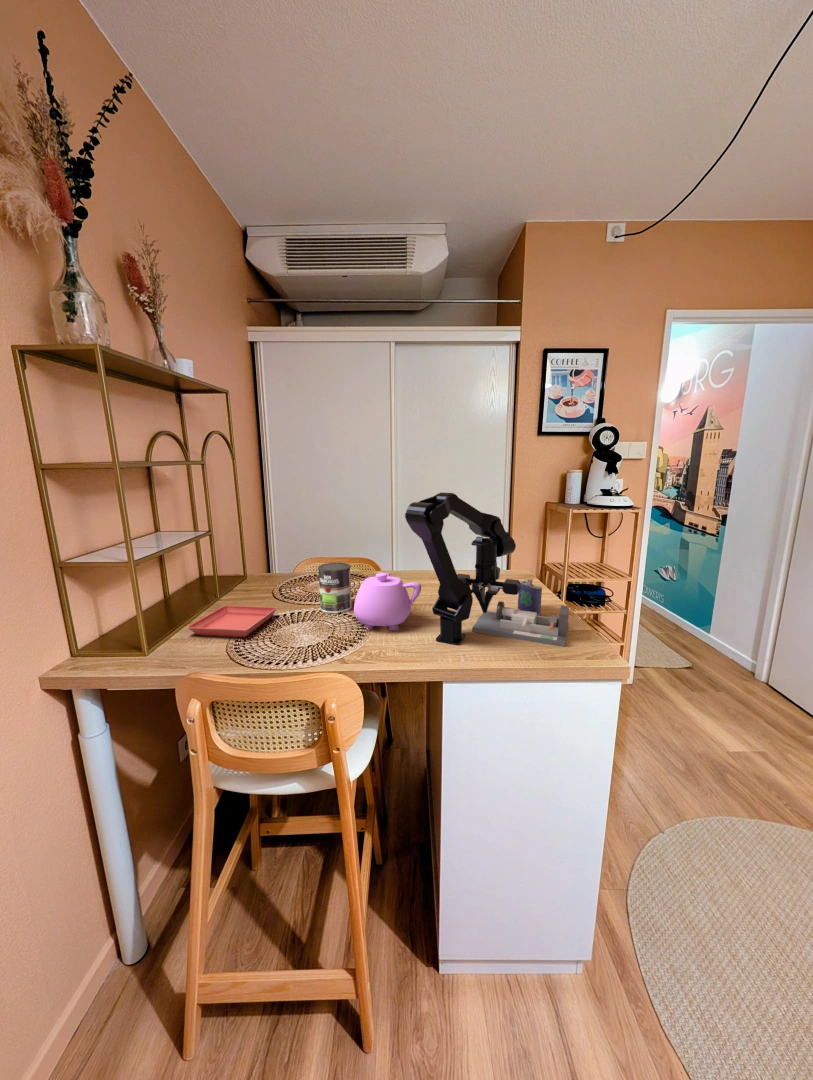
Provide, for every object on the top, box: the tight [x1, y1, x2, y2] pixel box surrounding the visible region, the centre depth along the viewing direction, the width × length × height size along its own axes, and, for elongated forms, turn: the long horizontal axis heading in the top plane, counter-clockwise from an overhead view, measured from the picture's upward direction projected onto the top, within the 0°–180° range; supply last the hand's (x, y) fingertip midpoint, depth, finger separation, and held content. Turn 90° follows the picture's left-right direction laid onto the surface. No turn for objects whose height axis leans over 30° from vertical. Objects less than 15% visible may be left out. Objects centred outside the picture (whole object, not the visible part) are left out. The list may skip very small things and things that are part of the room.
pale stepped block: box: [495, 600, 537, 626], centre depth 111 cm, size 10×9×6 cm
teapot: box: [353, 572, 422, 631], centre depth 119 cm, size 20×20×15 cm
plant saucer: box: [186, 605, 278, 638], centre depth 118 cm, size 18×18×3 cm
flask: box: [517, 578, 543, 616], centre depth 125 cm, size 9×3×11 cm, turn 25°
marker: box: [549, 614, 559, 630], centre depth 107 cm, size 2×9×3 cm, turn 155°
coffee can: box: [317, 562, 352, 614], centre depth 131 cm, size 10×10×14 cm
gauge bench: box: [471, 604, 570, 647], centre depth 112 cm, size 24×14×7 cm, turn 65°
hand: (484, 612), depth 117 cm, fingers closed
